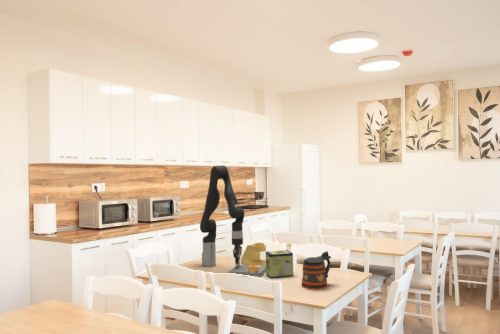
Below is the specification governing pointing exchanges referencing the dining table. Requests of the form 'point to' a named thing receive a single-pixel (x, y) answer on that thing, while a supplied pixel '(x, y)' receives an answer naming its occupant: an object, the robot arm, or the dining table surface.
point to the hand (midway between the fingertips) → (237, 262)
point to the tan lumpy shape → (253, 255)
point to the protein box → (279, 264)
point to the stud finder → (253, 268)
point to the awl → (238, 263)
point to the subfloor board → (244, 271)
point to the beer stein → (316, 272)
